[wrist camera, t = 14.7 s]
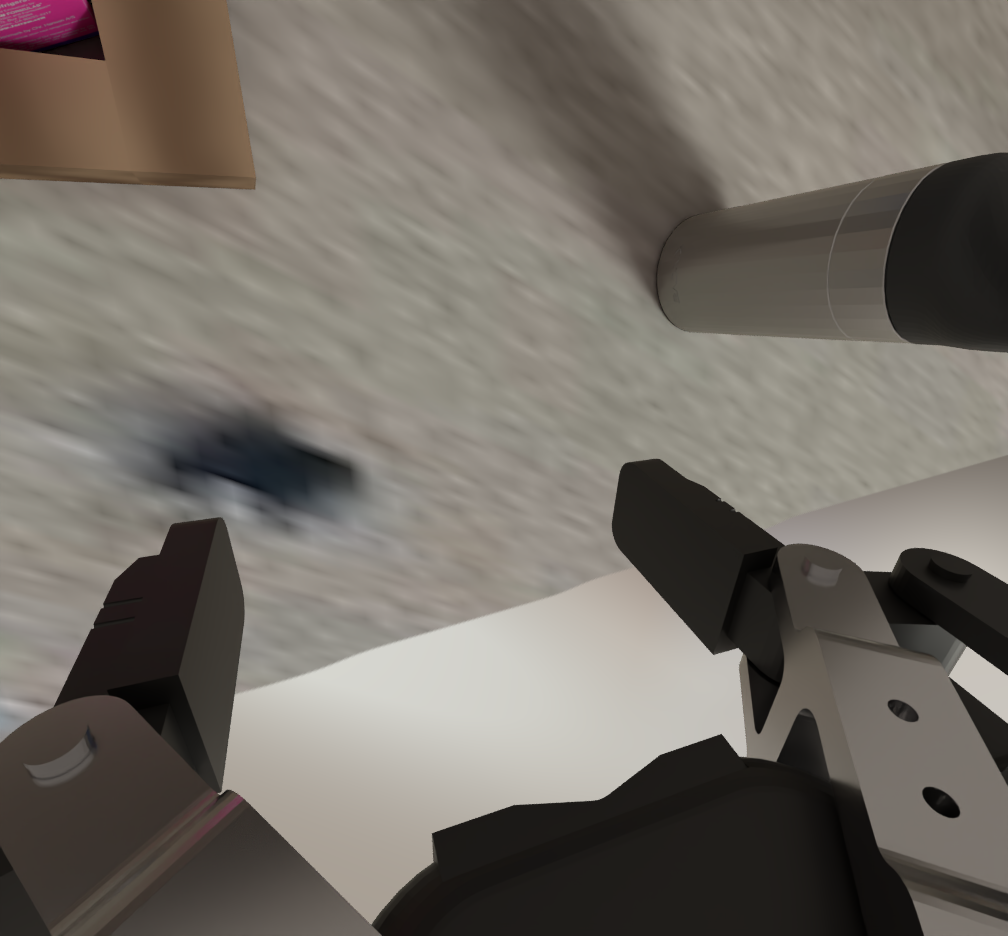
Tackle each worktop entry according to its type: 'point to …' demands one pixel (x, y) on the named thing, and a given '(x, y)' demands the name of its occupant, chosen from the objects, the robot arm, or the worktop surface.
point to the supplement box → (45, 23)
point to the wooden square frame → (131, 102)
